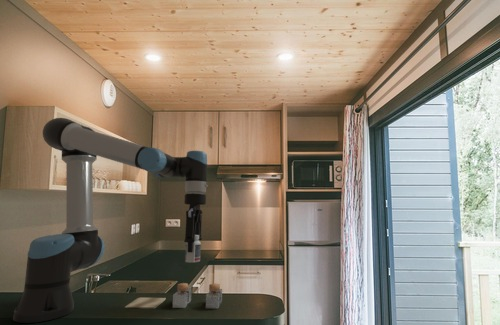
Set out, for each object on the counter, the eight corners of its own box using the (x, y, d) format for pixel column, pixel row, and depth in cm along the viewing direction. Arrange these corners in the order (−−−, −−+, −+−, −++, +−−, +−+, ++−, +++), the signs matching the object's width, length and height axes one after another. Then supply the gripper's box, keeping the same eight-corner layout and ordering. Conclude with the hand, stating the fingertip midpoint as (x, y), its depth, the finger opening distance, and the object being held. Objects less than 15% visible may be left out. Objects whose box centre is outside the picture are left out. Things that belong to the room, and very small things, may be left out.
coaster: (125, 307, 93) (125, 306, 93) (138, 298, 103) (138, 297, 103) (154, 308, 92) (154, 307, 92) (165, 299, 102) (165, 297, 102)
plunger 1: (175, 301, 95) (176, 285, 96) (178, 298, 99) (179, 283, 100) (186, 301, 95) (186, 285, 96) (188, 298, 99) (189, 283, 100)
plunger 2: (207, 302, 95) (208, 286, 95) (210, 298, 98) (210, 283, 99) (218, 302, 94) (218, 286, 95) (220, 298, 98) (220, 283, 99)
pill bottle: (201, 260, 102) (202, 234, 103) (199, 262, 96) (200, 235, 98) (186, 260, 101) (187, 234, 103) (183, 262, 96) (184, 235, 98)
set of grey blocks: (172, 307, 93) (173, 294, 94) (180, 300, 101) (180, 288, 102) (217, 308, 92) (218, 295, 93) (221, 301, 100) (222, 288, 101)
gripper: (199, 192, 94) (196, 265, 90) (210, 195, 112) (208, 256, 108) (177, 191, 94) (173, 265, 90) (192, 194, 112) (189, 256, 108)
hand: (192, 260), depth 99 cm, fingers closed on pill bottle, 5 cm apart
